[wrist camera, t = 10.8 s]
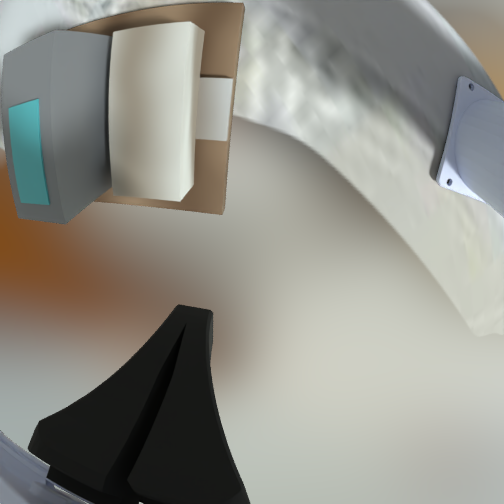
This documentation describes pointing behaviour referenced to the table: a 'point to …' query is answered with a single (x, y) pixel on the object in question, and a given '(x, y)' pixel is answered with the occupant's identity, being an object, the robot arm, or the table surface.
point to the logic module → (57, 123)
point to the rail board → (210, 65)
